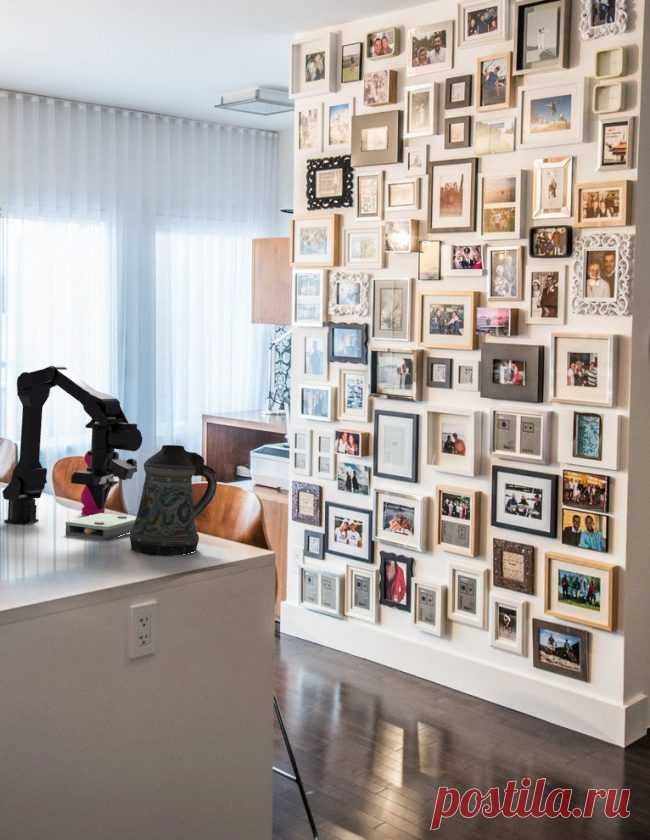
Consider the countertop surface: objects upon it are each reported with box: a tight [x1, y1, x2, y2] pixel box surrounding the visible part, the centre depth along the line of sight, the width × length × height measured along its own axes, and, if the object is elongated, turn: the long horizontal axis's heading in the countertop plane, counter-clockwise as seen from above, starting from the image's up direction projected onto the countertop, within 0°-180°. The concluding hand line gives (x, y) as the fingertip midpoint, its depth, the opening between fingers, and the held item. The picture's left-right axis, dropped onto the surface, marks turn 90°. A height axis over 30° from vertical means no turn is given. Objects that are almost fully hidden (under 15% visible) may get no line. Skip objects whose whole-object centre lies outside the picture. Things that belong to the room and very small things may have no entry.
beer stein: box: [129, 444, 218, 557], centre depth 243 cm, size 16×19×25 cm
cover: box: [65, 512, 137, 530], centre depth 259 cm, size 12×16×1 cm
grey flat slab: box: [65, 523, 134, 541], centre depth 259 cm, size 12×16×2 cm
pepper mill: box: [80, 449, 107, 516], centre depth 285 cm, size 7×7×20 cm
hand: (100, 509), depth 253 cm, fingers closed
